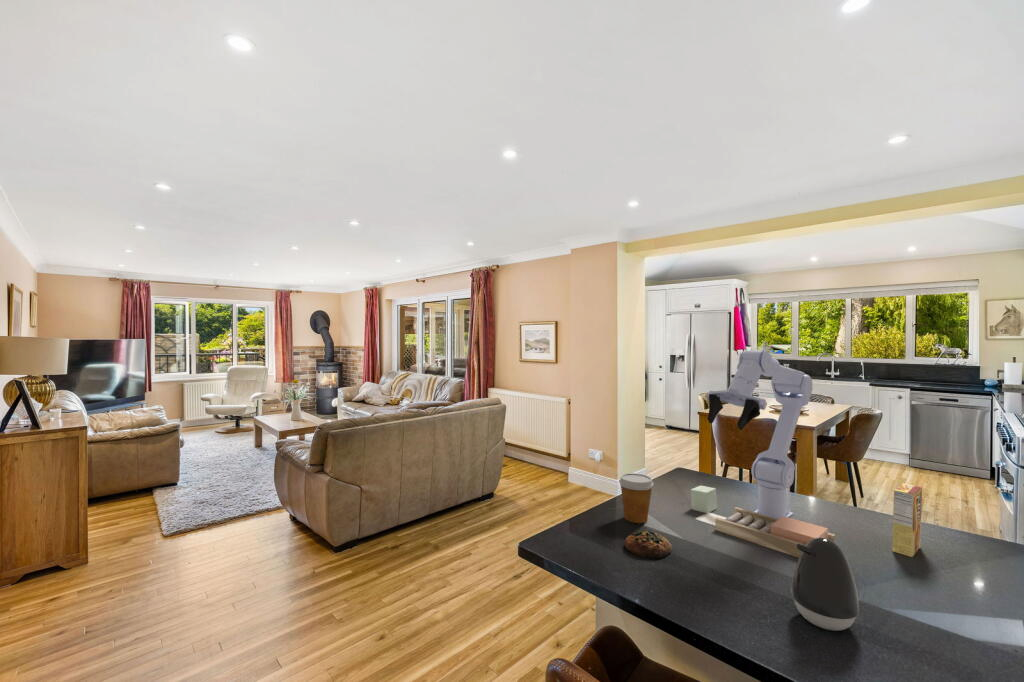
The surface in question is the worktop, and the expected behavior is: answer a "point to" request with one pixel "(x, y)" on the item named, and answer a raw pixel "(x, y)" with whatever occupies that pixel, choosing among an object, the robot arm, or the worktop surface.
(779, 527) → the slab
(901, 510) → the candy box
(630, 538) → the bread roll
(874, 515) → the worktop surface
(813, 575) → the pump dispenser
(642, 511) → the disposable coffee cup
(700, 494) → the block
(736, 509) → the roller bed
